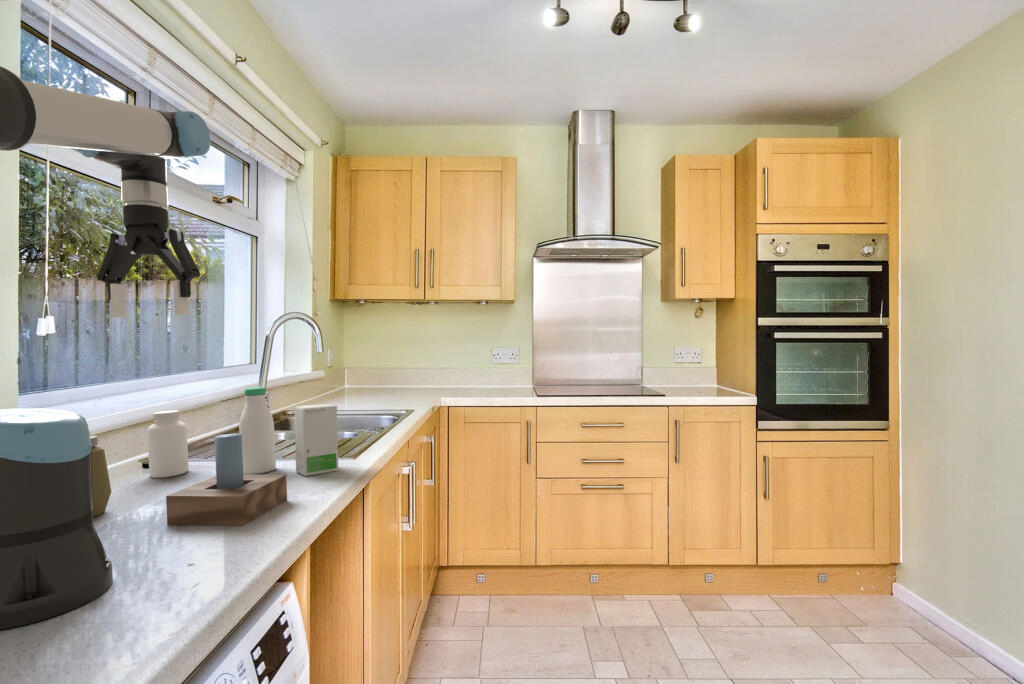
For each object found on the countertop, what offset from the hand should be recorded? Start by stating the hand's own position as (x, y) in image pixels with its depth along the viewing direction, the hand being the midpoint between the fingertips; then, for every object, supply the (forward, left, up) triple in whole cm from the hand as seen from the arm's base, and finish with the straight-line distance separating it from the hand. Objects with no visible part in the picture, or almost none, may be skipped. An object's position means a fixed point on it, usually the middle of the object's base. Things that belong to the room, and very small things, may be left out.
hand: (150, 316), depth 106 cm
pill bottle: (+21, +15, -37) cm, 45 cm away
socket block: (-5, -19, -37) cm, 42 cm away
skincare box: (+24, -21, -37) cm, 49 cm away
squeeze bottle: (-8, +8, -37) cm, 39 cm away
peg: (-5, -19, -37) cm, 42 cm away
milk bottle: (+24, -6, -37) cm, 44 cm away
